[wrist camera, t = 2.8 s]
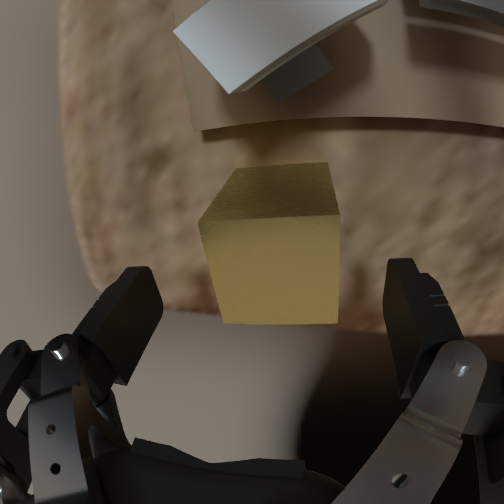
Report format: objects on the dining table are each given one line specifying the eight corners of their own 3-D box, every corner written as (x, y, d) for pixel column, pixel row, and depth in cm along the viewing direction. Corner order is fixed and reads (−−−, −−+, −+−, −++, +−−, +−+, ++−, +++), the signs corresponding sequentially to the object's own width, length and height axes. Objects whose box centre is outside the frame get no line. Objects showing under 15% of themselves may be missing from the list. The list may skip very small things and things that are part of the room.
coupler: (327, 162, 14) (339, 214, 9) (330, 243, 16) (337, 323, 11) (236, 168, 15) (197, 222, 10) (249, 246, 17) (223, 323, 12)
